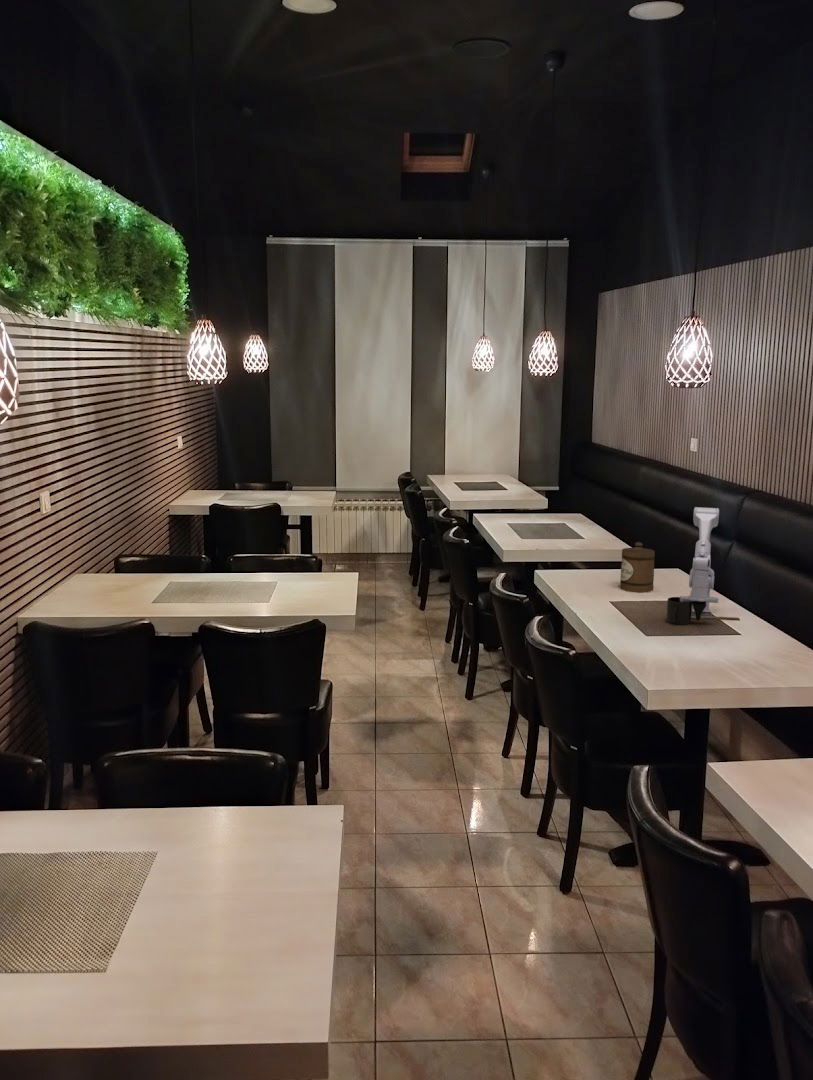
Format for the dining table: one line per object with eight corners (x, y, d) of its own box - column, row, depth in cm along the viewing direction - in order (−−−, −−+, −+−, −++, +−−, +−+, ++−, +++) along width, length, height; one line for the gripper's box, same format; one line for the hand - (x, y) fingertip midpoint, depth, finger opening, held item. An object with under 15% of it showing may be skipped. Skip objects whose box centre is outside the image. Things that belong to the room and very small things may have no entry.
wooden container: (617, 584, 408) (619, 539, 404) (648, 585, 407) (651, 539, 403) (623, 592, 393) (626, 545, 389) (656, 593, 393) (659, 545, 389)
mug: (661, 624, 342) (662, 601, 340) (669, 617, 352) (671, 595, 350) (685, 627, 337) (687, 605, 335) (693, 620, 347) (695, 598, 345)
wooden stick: (666, 616, 354) (666, 614, 353) (738, 618, 350) (738, 617, 350) (667, 617, 351) (667, 616, 351) (739, 620, 348) (739, 618, 348)
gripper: (683, 588, 338) (680, 621, 340) (721, 589, 336) (718, 623, 339) (679, 584, 345) (677, 617, 347) (717, 585, 343) (714, 618, 346)
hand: (697, 619), depth 343 cm, fingers closed
